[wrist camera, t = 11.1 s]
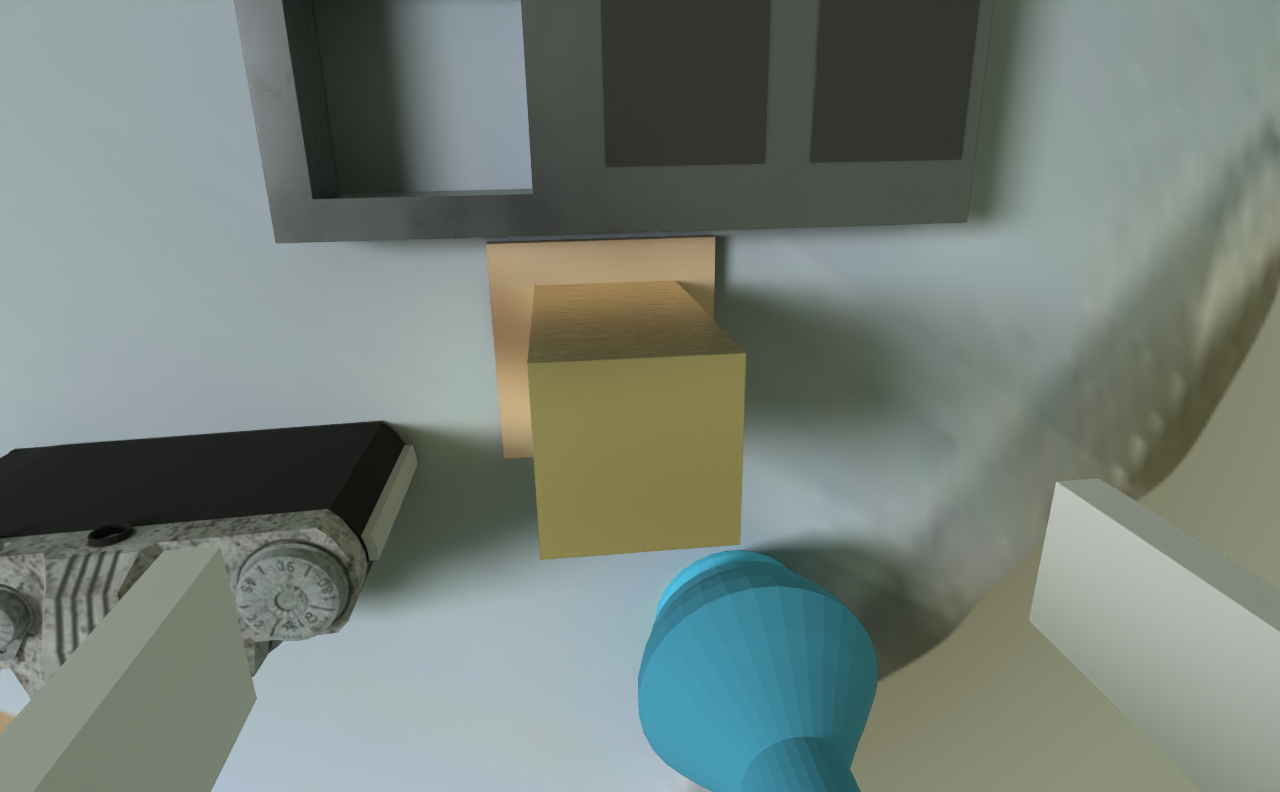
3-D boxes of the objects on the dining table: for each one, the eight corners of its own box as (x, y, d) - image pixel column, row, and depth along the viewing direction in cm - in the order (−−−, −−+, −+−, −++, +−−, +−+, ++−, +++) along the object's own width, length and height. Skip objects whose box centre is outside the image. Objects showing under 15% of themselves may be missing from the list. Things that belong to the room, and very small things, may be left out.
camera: (40, 606, 28) (-214, 836, 19) (-17, 443, 26) (-338, 610, 17) (435, 568, 30) (383, 763, 20) (411, 410, 27) (341, 546, 18)
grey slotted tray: (257, -73, 22) (214, -107, 19) (951, -64, 24) (1007, -93, 21) (306, 232, 25) (274, 243, 22) (923, 214, 27) (968, 222, 24)
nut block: (534, 285, 26) (527, 363, 16) (675, 280, 26) (745, 353, 17) (542, 419, 27) (540, 559, 18) (674, 411, 28) (739, 544, 19)
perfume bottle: (637, 719, 33) (704, 1143, 19) (613, 541, 30) (672, 887, 16) (834, 684, 34) (1040, 1068, 20) (830, 507, 31) (1070, 809, 17)
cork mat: (487, 242, 26) (486, 244, 25) (711, 234, 27) (715, 237, 26) (504, 452, 28) (503, 459, 28) (708, 440, 29) (711, 445, 29)
